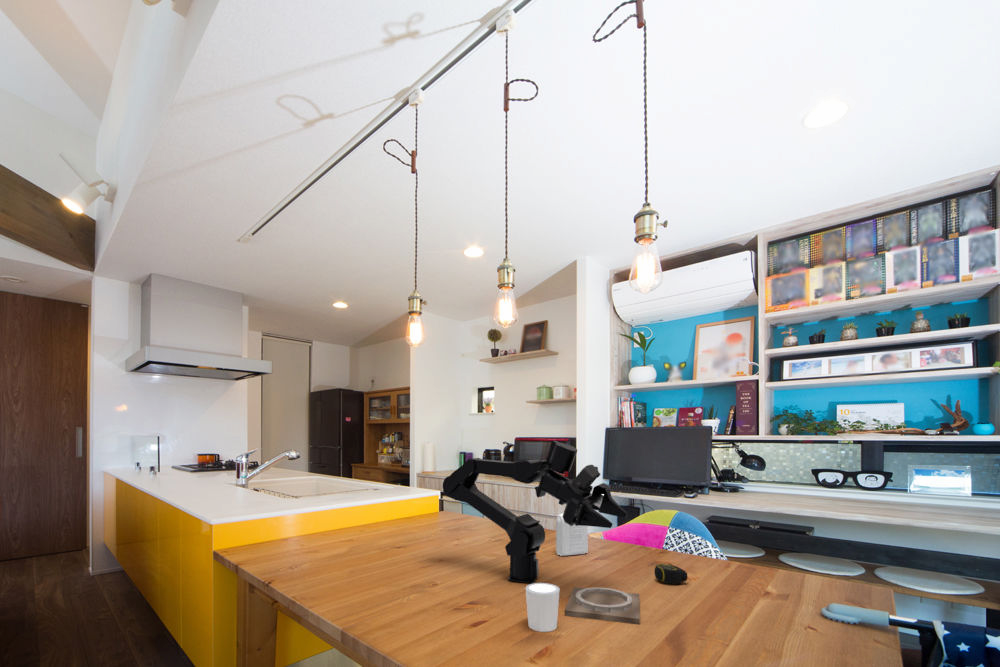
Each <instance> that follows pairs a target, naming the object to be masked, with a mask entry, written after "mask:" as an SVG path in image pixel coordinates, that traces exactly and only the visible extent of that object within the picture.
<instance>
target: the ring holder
mask: <svg viewBox="0 0 1000 667" xmlns="http://www.w3.org/2000/svg"><path fill="white" fill-rule="evenodd" d="M640 611H641V610H640V593H634V592H626V591H622V590H620V589H619V590H618V589H615V588H610V587H609V588H608V587H598V586H596V587H594V586H593V587H586V588H585V587H576V586H575V587H572V591H571V593H570V595H569V598H568V601H567V604H566V607H565V608H564V616H566V617H567V616H568V617H576V618H583V619H592V620H601V621H607V622H608V621H610V622H618V623H626V624H627V623H628V624H634V625H635V624H636V625H640V624H641V622H640V621H641V619H640V618H641V617H640V614H641V613H640Z"/></svg>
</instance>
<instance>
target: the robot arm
mask: <svg viewBox="0 0 1000 667" xmlns="http://www.w3.org/2000/svg"><path fill="white" fill-rule="evenodd" d="M577 453H578V448H576V447H575V446H574V445H571V444H566V443H563V442H559V441H557V440H552V441H551V443H550V446H549V450H548V453H547V455H546V458H545V459H530V460H529V459H528V460H522V461H521V460H520V461H509V460H508V461H507V460H506V461H505V460H495V459H494V460H493V459H484V458H480V457H475V458H474V457H473V458H472V457H471V458H469V459H467V460H465V461H464V463H463V464H462V465H461V466H460V467H458V468H457V469H455V470H454V471H453V472H452V473H451V474H450V475H447V476H446V477H445V478H444V480H443V482H442V493H444V495H445V496H446V497H448V498H450V499H452V500H454V501H456V502H462V503H466V504H467V505H469V506H470V507H471V508H473V509H474V510H476V511H477V512H479V513H480V514H482V516H485V517H486V518H488V519H489V520H490V521H491V522H493V523H494V524H496V525H497V526H498V527H500V528H501V529H503V530H504V531H505V532H506V534H507V536H508V538H509V540H510V541H509V542H508V543H507V544H506V545H505V552H506V555H507V556H509V577H508V578H507V581H508V582H515V583H517V582H518V583H523V584H524V583H525V584H526V583H527V584H533V583H535V581H536V580H537V579H538V577H539V559H538V558H537V552H539V551H540V548H541V545H543V544H544V542H545V540H546V532H545V528H544V526H543V525H542V524H540V523H541V520H538V519H535V518H534V517H533V516H531V515H530V514H528V513H524V514H523V515H522V514H521V515H516V514H514V513H513V512H512V511H510V510H509V509H507V508H505V507H504V506H503V505H501V504H500V503H498V501H495V500H494V499H493V498H491V497H489V496H488V495H487V494H485V493H483V492H482V491H481V490H479V489H478V487H477V484H476V482H477V481H478V477H479V476H480V474H482V475H489V476H490V475H491V476H497V477H498V476H500V477H501V476H502V477H508V478H511V479H512V480H514V481H517V482H518V483H519V482H520V483H522V484H525V485H527V484H535V483H538V486H534V490H535V495H536V497H537V498H542V497H545V496H546V494H548V495H550V496H552V497H553V498H555V499H557V500H558V504H559V505H561V506H563V505H565V508H564V511H563V512H562V513H563V519H564V522H565V523H567V524H569V525H570V526H573V525H574V524H575V525H576V526H579V525H580V526H588V527H597V528H606V529H607V528H609V529H611V528H612V527H613V522H611V521H610V520H609V519H608V518H606V517H605V516H603V515H602V514H605V515H609V516H615V517H619V518H625V519H626V518H627V517H628V512H626V511H625V509H623V508H622V506H620V504H618V503H617V502H616V500H615V499H614V498H613V496H612V494H611V492H612V490H611V486H610V485H609V484H606V483H605V482H602V483H599V484H598V485H595V486H594V487H593V485H592V484H593V483H594V481H595V480H596V479H597V478H599V477H600V476H601V472H600V471H599V467H598V466H595V465H594V464H588V465H586V466H584V467H583V468H582V469H581V470H580V472H579V473H578V475H576V476H575V478H572V479H571V478H568V477H566V476H564V475H565V474H566V472H571V469H572V466H573V465H574V461H575V460H576V459H575V458H576V455H577ZM576 519H577V520H576Z"/></svg>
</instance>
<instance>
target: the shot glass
mask: <svg viewBox="0 0 1000 667" xmlns="http://www.w3.org/2000/svg"><path fill="white" fill-rule="evenodd" d="M525 600H526V609H527V610H526V611H527V612H526V613H527V623H528V627H529V629H530V630H533V631H536V632H541V633H547V632H549V633H550V632H553V631H555V630H556V629H557V628H558V627H557V626H558V615H559V614H558V613H559V605H560V604H559V602H560V587H559V586H558V585H555V584H552V583H547V582H534V583H528V585H526V586H525Z"/></svg>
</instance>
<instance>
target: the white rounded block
mask: <svg viewBox="0 0 1000 667" xmlns="http://www.w3.org/2000/svg"><path fill="white" fill-rule="evenodd" d="M563 513H564V512H562V513H559V514H558V515H557V516H556V520H555V553H556V555H557V556H559V555H560V557H564V556H574V555H575V556H576V555H584V554H585V553H587V554H588V552H589V543H588V542H589V534H588V533H589V526H580V525H579V526H576V525H575V524H574V525H573V526H570V525H569V524H567V523H565V522H564V519H563ZM576 520H577V519H576ZM585 555H586V554H585Z"/></svg>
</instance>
